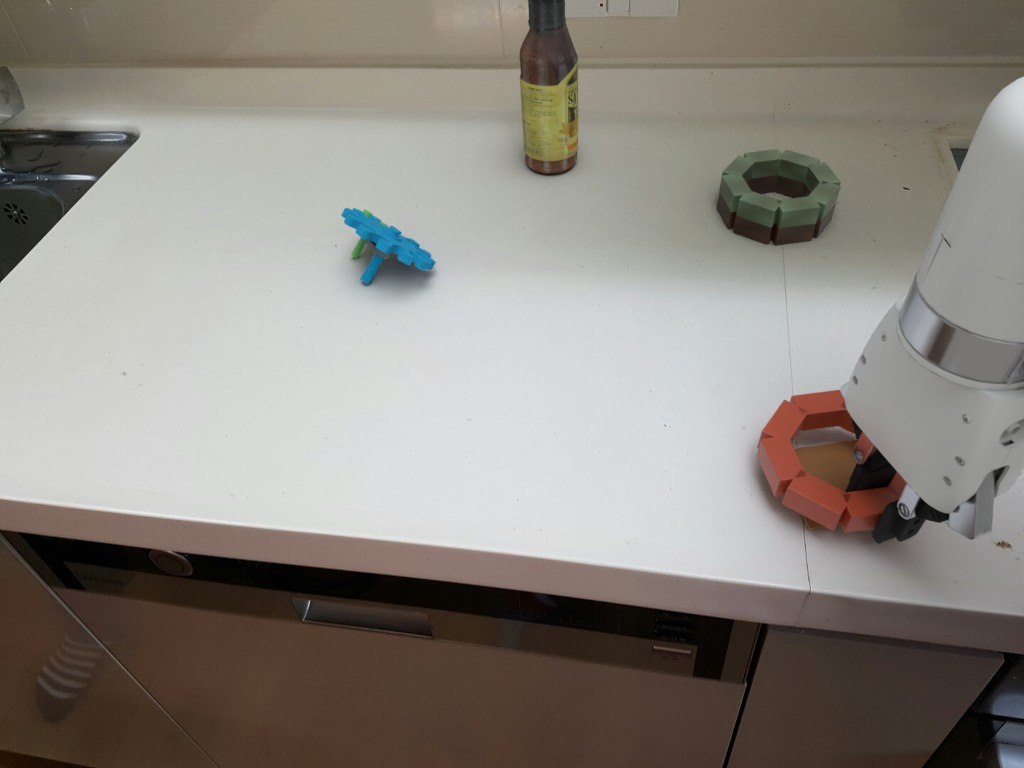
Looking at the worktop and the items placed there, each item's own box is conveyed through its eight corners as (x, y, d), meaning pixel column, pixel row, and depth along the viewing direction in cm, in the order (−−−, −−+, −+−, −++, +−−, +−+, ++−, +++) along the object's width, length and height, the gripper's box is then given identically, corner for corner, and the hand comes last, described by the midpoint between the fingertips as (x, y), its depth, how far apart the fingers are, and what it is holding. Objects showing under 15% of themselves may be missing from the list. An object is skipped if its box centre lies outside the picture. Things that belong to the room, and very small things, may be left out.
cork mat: (860, 441, 61) (861, 438, 61) (902, 515, 56) (904, 513, 56) (772, 454, 61) (773, 451, 61) (808, 530, 56) (809, 528, 56)
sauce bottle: (581, 174, 89) (583, -9, 75) (526, 179, 89) (517, -4, 75) (574, 144, 94) (574, -34, 79) (522, 149, 94) (512, -29, 79)
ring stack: (803, 177, 86) (811, 144, 83) (846, 236, 79) (856, 202, 76) (706, 189, 86) (710, 157, 83) (739, 250, 78) (746, 216, 75)
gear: (454, 270, 76) (368, 229, 69) (422, 321, 77) (335, 285, 71) (412, 226, 84) (332, 185, 77) (385, 273, 85) (303, 237, 79)
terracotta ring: (878, 400, 61) (885, 383, 60) (948, 519, 54) (959, 502, 52) (740, 418, 61) (744, 401, 59) (792, 540, 53) (799, 524, 52)
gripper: (1173, 408, 36) (1008, 597, 50) (935, 218, 47) (852, 417, 60) (1042, 455, 35) (908, 637, 48) (826, 248, 45) (766, 445, 59)
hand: (877, 514), depth 54 cm, fingers closed on terracotta ring, 2 cm apart
